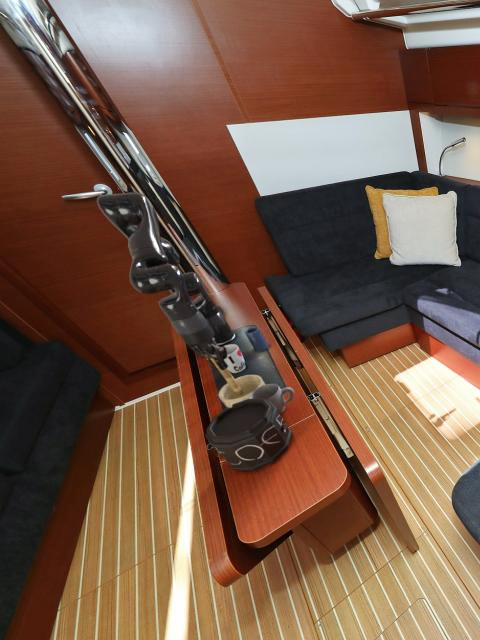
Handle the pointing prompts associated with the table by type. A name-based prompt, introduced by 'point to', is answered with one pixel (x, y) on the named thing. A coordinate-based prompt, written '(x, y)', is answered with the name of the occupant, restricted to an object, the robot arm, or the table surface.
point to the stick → (230, 380)
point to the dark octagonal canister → (249, 434)
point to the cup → (234, 359)
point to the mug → (273, 395)
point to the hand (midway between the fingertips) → (221, 367)
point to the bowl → (246, 384)
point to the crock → (256, 339)
